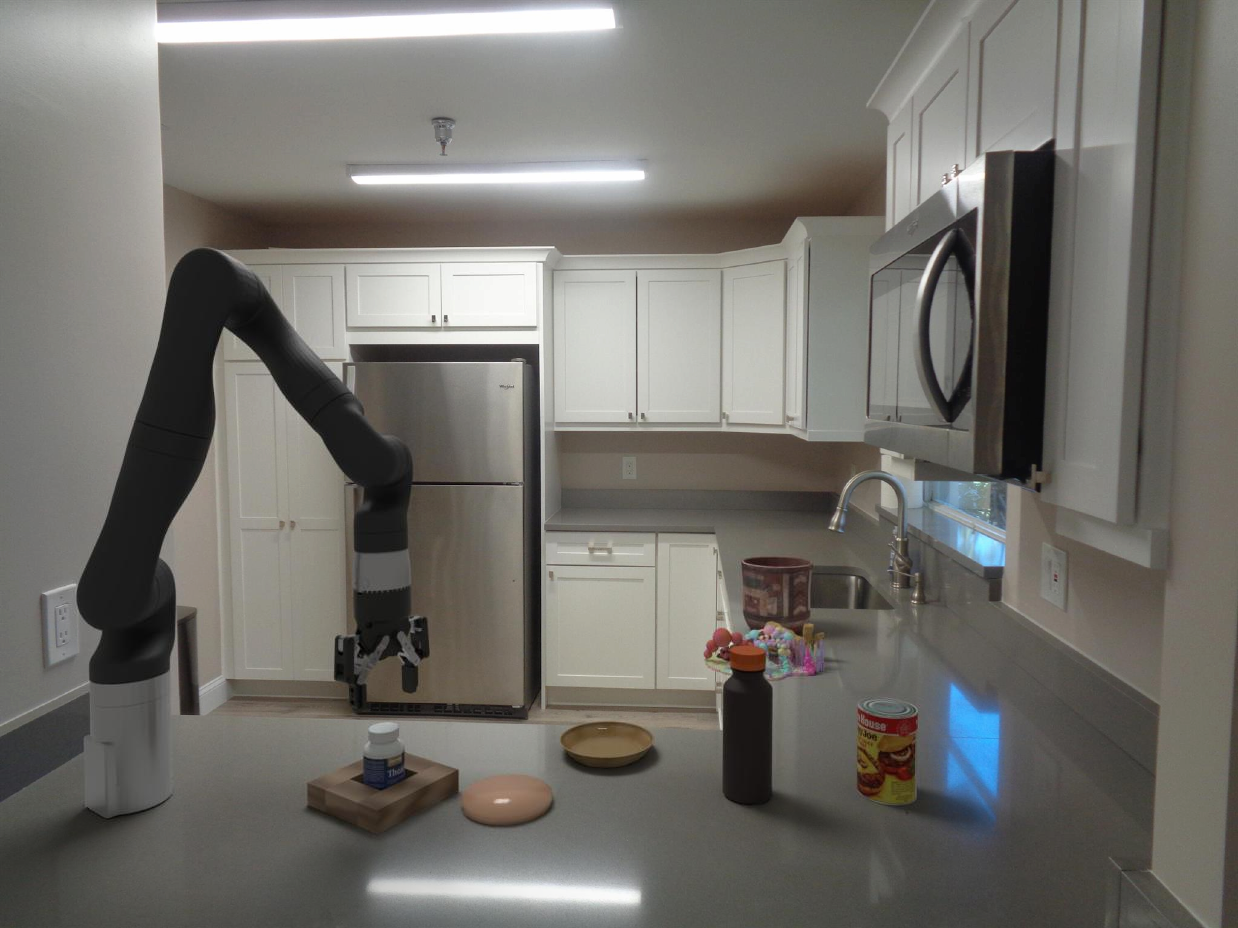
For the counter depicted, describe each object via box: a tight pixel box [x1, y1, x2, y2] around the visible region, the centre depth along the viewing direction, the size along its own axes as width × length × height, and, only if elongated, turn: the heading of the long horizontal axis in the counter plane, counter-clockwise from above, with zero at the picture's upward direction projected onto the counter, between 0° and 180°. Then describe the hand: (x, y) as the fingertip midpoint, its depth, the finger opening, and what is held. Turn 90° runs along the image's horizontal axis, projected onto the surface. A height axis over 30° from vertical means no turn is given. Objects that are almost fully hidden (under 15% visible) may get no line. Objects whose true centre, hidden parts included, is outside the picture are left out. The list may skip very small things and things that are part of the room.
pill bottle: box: [362, 721, 406, 791], centre depth 105 cm, size 5×5×10 cm
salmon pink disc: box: [461, 773, 553, 826], centre depth 103 cm, size 12×12×1 cm
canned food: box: [856, 696, 919, 807], centre depth 106 cm, size 8×8×12 cm
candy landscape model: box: [703, 621, 826, 682], centre depth 167 cm, size 25×24×9 cm
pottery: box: [740, 555, 814, 635], centre depth 194 cm, size 18×18×18 cm
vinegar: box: [721, 646, 774, 805], centre depth 106 cm, size 7×7×20 cm
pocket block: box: [306, 751, 460, 835], centre depth 105 cm, size 14×14×3 cm
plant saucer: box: [558, 720, 655, 769], centre depth 120 cm, size 15×15×3 cm
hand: (385, 701), depth 105 cm, fingers open, 8 cm apart
